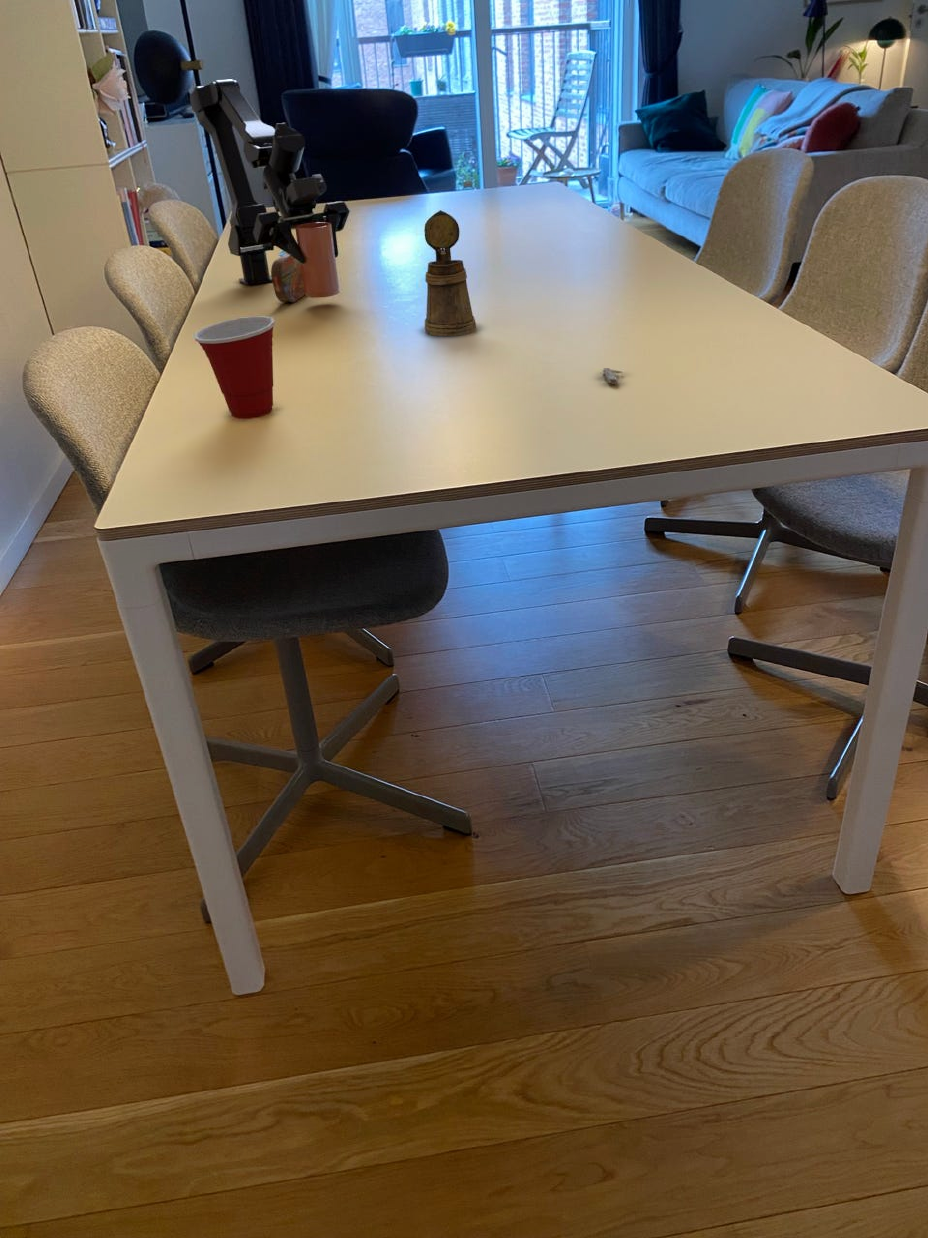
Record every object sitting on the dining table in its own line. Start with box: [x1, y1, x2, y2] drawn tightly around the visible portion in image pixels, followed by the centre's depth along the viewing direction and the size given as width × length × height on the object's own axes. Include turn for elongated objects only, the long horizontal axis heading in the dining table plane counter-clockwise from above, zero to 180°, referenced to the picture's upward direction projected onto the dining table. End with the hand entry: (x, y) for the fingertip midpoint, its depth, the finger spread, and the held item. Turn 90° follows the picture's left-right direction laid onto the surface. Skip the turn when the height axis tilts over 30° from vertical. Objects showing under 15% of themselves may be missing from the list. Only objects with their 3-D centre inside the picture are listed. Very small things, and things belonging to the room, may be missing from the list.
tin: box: [270, 253, 305, 303], centre depth 184 cm, size 15×3×8 cm, turn 168°
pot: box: [294, 222, 340, 299], centre depth 175 cm, size 7×7×12 cm
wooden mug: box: [423, 209, 477, 337], centre depth 154 cm, size 9×14×18 cm, turn 4°
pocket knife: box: [602, 367, 623, 384], centre depth 129 cm, size 6×1×3 cm
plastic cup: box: [193, 315, 275, 420], centre depth 123 cm, size 11×11×12 cm
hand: (320, 258), depth 174 cm, fingers closed on pot, 7 cm apart
